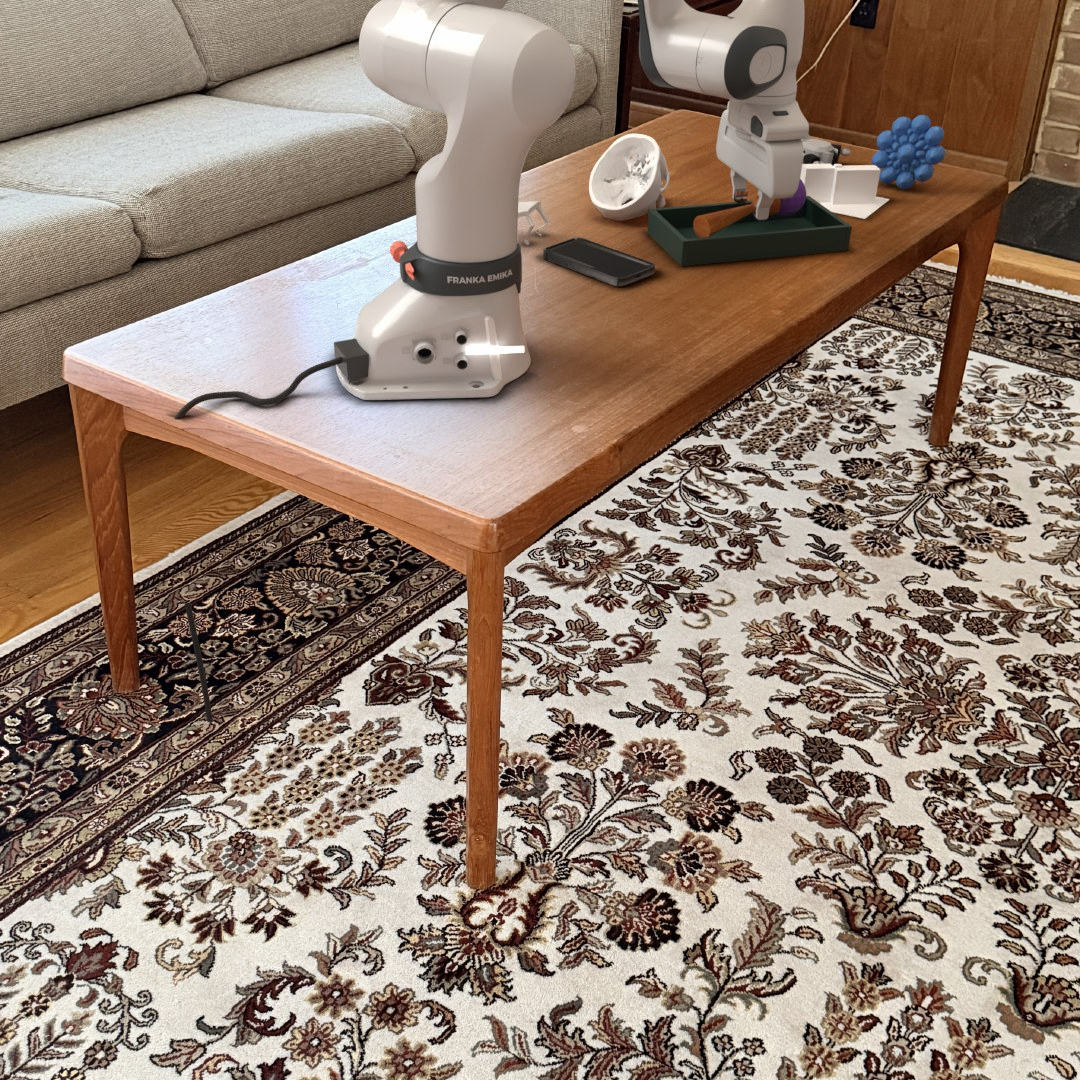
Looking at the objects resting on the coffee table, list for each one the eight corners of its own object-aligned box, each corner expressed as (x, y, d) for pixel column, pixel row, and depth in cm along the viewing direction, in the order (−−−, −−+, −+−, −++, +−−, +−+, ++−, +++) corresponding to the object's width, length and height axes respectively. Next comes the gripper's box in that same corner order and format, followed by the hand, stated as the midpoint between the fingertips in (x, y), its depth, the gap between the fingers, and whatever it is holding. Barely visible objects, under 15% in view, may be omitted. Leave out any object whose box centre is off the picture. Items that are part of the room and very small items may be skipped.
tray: (681, 266, 169) (683, 241, 167) (647, 232, 180) (648, 208, 178) (848, 250, 175) (852, 226, 173) (805, 219, 186) (809, 195, 184)
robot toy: (851, 168, 210) (776, 144, 217) (857, 141, 207) (781, 118, 214) (816, 185, 202) (739, 159, 209) (822, 158, 199) (744, 133, 206)
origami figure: (504, 224, 182) (504, 191, 179) (552, 235, 178) (553, 202, 175) (457, 248, 173) (456, 214, 171) (507, 261, 170) (507, 226, 167)
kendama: (684, 204, 171) (782, 167, 180) (689, 246, 173) (785, 208, 183) (714, 207, 166) (813, 170, 176) (719, 250, 169) (816, 211, 179)
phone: (578, 236, 175) (658, 265, 166) (577, 244, 175) (658, 272, 166) (539, 249, 170) (619, 280, 161) (538, 257, 170) (619, 288, 162)
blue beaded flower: (946, 189, 199) (961, 114, 192) (930, 200, 194) (946, 123, 187) (878, 175, 204) (891, 101, 198) (862, 185, 200) (874, 110, 193)
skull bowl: (692, 192, 191) (677, 134, 180) (650, 261, 187) (632, 206, 176) (634, 178, 195) (616, 122, 185) (592, 245, 192) (571, 191, 181)
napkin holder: (890, 198, 194) (896, 162, 191) (865, 219, 186) (872, 181, 183) (801, 181, 201) (806, 146, 198) (774, 200, 193) (778, 164, 190)
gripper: (710, 92, 175) (701, 188, 182) (771, 132, 158) (758, 235, 166) (751, 90, 176) (740, 185, 184) (815, 129, 160) (801, 232, 168)
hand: (749, 209), depth 175 cm, fingers closed on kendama, 6 cm apart
